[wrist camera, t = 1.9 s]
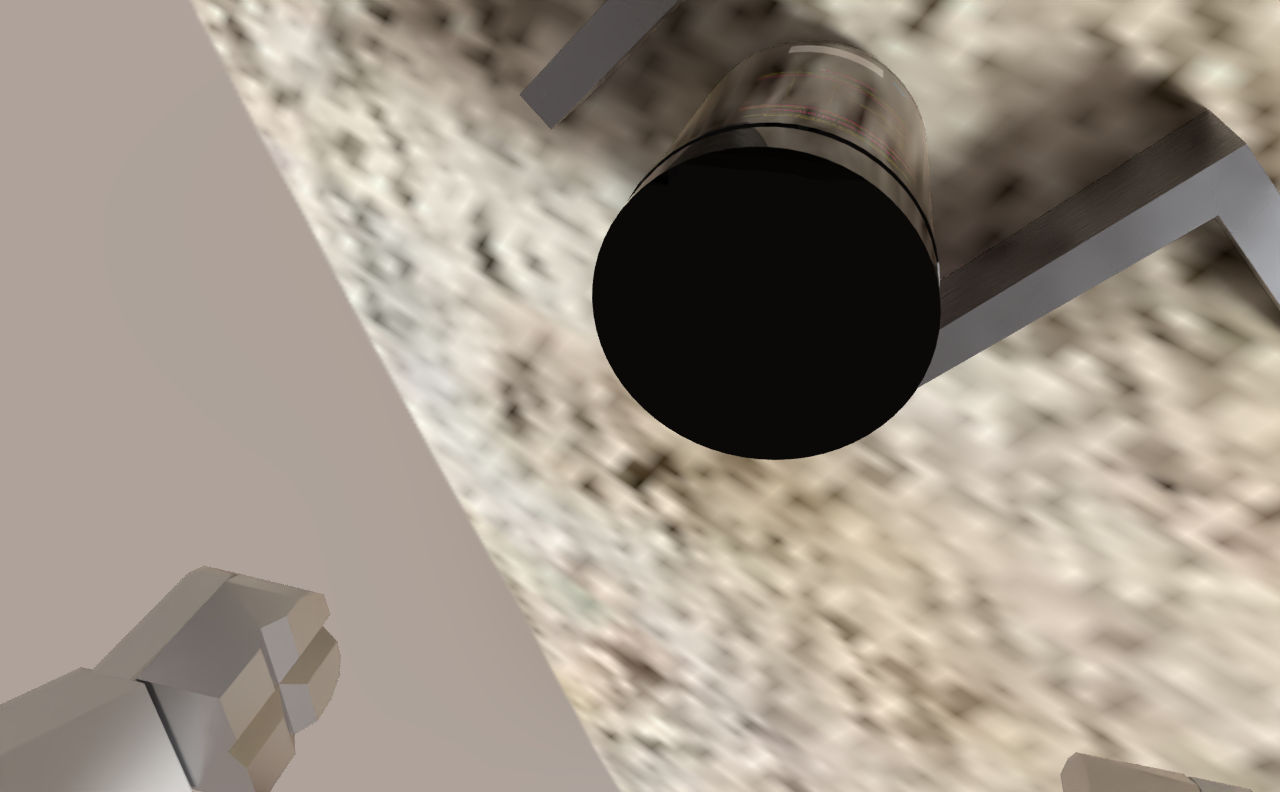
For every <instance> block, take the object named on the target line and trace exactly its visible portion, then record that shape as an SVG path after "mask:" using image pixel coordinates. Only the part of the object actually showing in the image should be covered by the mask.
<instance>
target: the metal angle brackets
mask: <svg viewBox="0 0 1280 792" xmlns="http://www.w3.org/2000/svg"><path fill="white" fill-rule="evenodd" d="M683 1H684V0H607V1H606V2H605V3H604V4H603V5H602V6H601V8H600V9H599V10H598V11H597V12H596V13H595V14H594V15H593V16H592V17H591V18H590V19H589V21H588V22H587V23H586V24H585V25H584V26H583V27H582V28H581V29H580V30H579V31H578V32H577V33H576V35H575V36H574V37H573V38H572V39H571V40H570V41H569V42H568V43H567V44H566V45H565V46H564V48H563V49H562V50H561V51H560V52H559V53H558V54H557V55H556V56H555V57H554V58H553V59H552V61H551V62H550V63H549V64H548V65H547V66H546V67H545V68H544V69H543V70H542V71H541V72H540V73H539V75H538V76H537V77H536V78H535V79H534V80H533V81H532V82H531V83H530V84H529V85H528V86H527V88H526V89H525V90H524V91H523V92H522V93H521V94H520V96H521V97H522V98H523V99H524V100H525V101H526V102H527V103H528V104H529V105H530V106H531V108H532V109H533V110H534V111H535V112H536V113H537V114H538V115H539V116H540V117H541V119H542V120H543V121H544V122H545V123H546V124H547V125H548V126H549V127H550V128H551V129H552V128H553V127H555V126H556V125H557V124H558V123H559V122H561V121H562V120H563V119H564V118H565V117H566V116H568V115H569V114H570V113H571V112H572V111H574V110H575V109H576V108H577V107H578V106H580V105H581V104H582V103H583V102H584V101H585V100H586V99H587V98H588V97H589V96H590V95H591V94H592V93H593V92H594V91H595V90H596V89H597V88H598V87H599V86H600V85H601V84H602V83H603V82H604V81H605V80H606V79H607V78H608V77H609V76H610V75H611V74H612V73H613V72H614V71H615V70H616V69H617V68H618V67H619V66H620V65H621V64H622V63H623V62H624V61H625V60H626V59H627V58H628V57H629V56H630V55H631V54H632V53H633V52H634V51H635V50H636V49H637V48H638V47H639V46H640V45H641V44H642V43H643V42H644V41H645V40H646V39H647V38H648V37H649V36H650V35H651V34H652V33H653V32H654V31H655V30H656V29H657V28H658V27H659V25H660V24H661V23H662V22H663V21H664V20H665V19H666V18H667V17H668V16H669V15H670V14H671V13H672V12H673V11H674V10H675V9H676V8H677V7H678V6H679V5H680V4H681V3H682V2H683ZM1214 217H1215V219H1216V220H1217V222H1218V223H1219V225H1220V226H1221V227H1222V229H1223V230H1224V232H1225V233H1226V235H1227V236H1228V238H1229V239H1230V241H1231V242H1232V243H1233V245H1234V246H1235V248H1236V249H1237V251H1238V252H1239V254H1240V255H1241V256H1242V258H1243V259H1244V261H1245V262H1246V264H1247V265H1248V267H1249V268H1250V269H1251V271H1252V272H1253V274H1254V275H1255V277H1256V278H1257V280H1258V281H1259V282H1260V284H1261V285H1262V287H1263V288H1264V290H1265V291H1266V293H1267V294H1268V296H1269V297H1270V298H1271V300H1272V301H1273V303H1274V304H1275V306H1276V307H1277V309H1278V310H1279V311H1280V194H1279V192H1278V191H1277V189H1276V188H1275V186H1274V185H1273V183H1272V182H1271V180H1270V179H1269V177H1268V176H1267V174H1266V173H1265V171H1264V170H1263V168H1262V167H1261V165H1260V164H1259V162H1258V161H1257V159H1256V158H1255V156H1254V155H1253V153H1252V151H1251V150H1250V148H1249V147H1248V145H1247V144H1246V143H1245V142H1244V141H1243V140H1242V139H1241V138H1239V137H1238V136H1237V135H1236V134H1235V133H1234V132H1233V131H1232V130H1231V129H1230V128H1228V127H1227V126H1226V125H1225V124H1224V123H1223V122H1222V121H1221V120H1220V119H1219V118H1217V117H1216V116H1215V115H1214V114H1213V113H1212V112H1211V111H1210V110H1207V111H1206V112H1204V113H1203V114H1201V115H1199V116H1198V117H1196V118H1195V119H1193V120H1192V121H1190V122H1188V123H1187V124H1185V125H1184V126H1182V127H1181V128H1179V129H1178V130H1176V131H1174V132H1173V133H1171V134H1170V135H1168V136H1167V137H1165V138H1163V139H1162V140H1160V141H1159V142H1157V143H1156V144H1154V145H1152V146H1151V147H1149V148H1148V149H1146V150H1145V151H1143V152H1142V153H1140V154H1138V155H1137V156H1135V157H1134V158H1132V159H1131V160H1129V161H1127V162H1126V163H1124V164H1123V165H1121V166H1120V167H1118V168H1116V169H1115V170H1113V171H1112V172H1110V173H1109V174H1107V175H1106V176H1104V177H1102V178H1101V179H1099V180H1098V181H1096V182H1095V183H1093V184H1091V185H1090V186H1088V187H1087V188H1085V189H1084V190H1082V191H1080V192H1079V193H1077V194H1076V195H1074V196H1073V197H1071V198H1069V199H1068V200H1066V201H1065V202H1063V203H1062V204H1060V205H1059V206H1057V207H1055V208H1054V209H1052V210H1051V211H1049V212H1048V213H1046V214H1044V215H1043V216H1041V217H1040V218H1038V219H1037V220H1035V221H1033V222H1032V223H1030V224H1029V225H1027V226H1026V227H1024V228H1023V229H1021V230H1019V231H1018V232H1016V233H1015V234H1013V235H1012V236H1010V237H1008V238H1007V239H1005V240H1004V241H1002V242H1001V243H999V244H997V245H996V246H994V247H993V248H991V249H990V250H988V251H987V252H985V253H983V254H982V255H980V256H979V257H977V258H976V259H974V260H972V261H971V262H969V263H968V264H966V265H965V266H963V267H961V268H960V269H958V270H957V271H955V272H954V273H952V274H951V275H949V276H947V277H946V278H944V279H943V280H941V281H940V287H939V288H940V306H941V318H940V330H939V336H938V340H937V345H936V349H935V352H934V355H933V358H932V361H931V364H930V366H929V368H928V370H927V372H926V374H925V376H924V378H923V380H922V381H921V383H920V385H919V386H918V387H920V386H922V385H923V384H925V383H927V382H929V381H930V380H932V379H934V378H936V377H937V376H939V375H941V374H943V373H944V372H946V371H948V370H950V369H951V368H953V367H955V366H957V365H958V364H960V363H962V362H964V361H965V360H967V359H969V358H971V357H972V356H974V355H976V354H977V353H979V352H981V351H983V350H984V349H986V348H988V347H990V346H991V345H993V344H995V343H997V342H998V341H1000V340H1002V339H1004V338H1005V337H1007V336H1009V335H1011V334H1012V333H1014V332H1016V331H1018V330H1019V329H1021V328H1023V327H1025V326H1026V325H1028V324H1030V323H1032V322H1033V321H1035V320H1037V319H1038V318H1040V317H1042V316H1044V315H1045V314H1047V313H1049V312H1051V311H1052V310H1054V309H1056V308H1058V307H1059V306H1061V305H1063V304H1065V303H1066V302H1068V301H1070V300H1072V299H1073V298H1075V297H1077V296H1079V295H1080V294H1082V293H1084V292H1086V291H1087V290H1089V289H1091V288H1092V287H1094V286H1096V285H1098V284H1099V283H1101V282H1103V281H1105V280H1106V279H1108V278H1110V277H1112V276H1113V275H1115V274H1117V273H1119V272H1120V271H1122V270H1124V269H1126V268H1127V267H1129V266H1131V265H1133V264H1134V263H1136V262H1138V261H1140V260H1141V259H1143V258H1145V257H1146V256H1148V255H1150V254H1152V253H1153V252H1155V251H1157V250H1159V249H1160V248H1162V247H1164V246H1166V245H1167V244H1169V243H1171V242H1173V241H1174V240H1176V239H1178V238H1180V237H1181V236H1183V235H1185V234H1187V233H1188V232H1190V231H1192V230H1194V229H1195V228H1197V227H1199V226H1200V225H1202V224H1204V223H1206V222H1207V221H1209V220H1211V219H1213V218H1214Z"/></svg>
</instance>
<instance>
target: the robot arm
mask: <svg viewBox="0 0 1280 792" xmlns="http://www.w3.org/2000/svg"><path fill="white" fill-rule="evenodd" d="M329 616H330V612H329V609H328V606H327V603H326V599H325V596H324V595H323V594H320V593H316V592H312V591H308V590H304V589H300V588H296V587H292V586H288V585H284V584H280V583H275V582H271V581H267V580H263V579H259V578H255V577H251V576H247V575H242V574H238V573H234V572H229V571H224V570H220V569H216V568H211V567H207V566H203V567H200V568H198V569H196V570H194V571H192V572H189V573H188V574H187V575H186V576H185V577H184V578H183V579H182V580H181V581H180V582H179V583H178V584H177V585H176V586H175V587H174V588H173V589H172V590H171V591H170V592H169V593H168V594H167V595H166V596H165V597H164V598H163V599H162V600H161V601H160V602H159V603H158V604H157V605H156V606H155V607H154V608H153V609H152V610H151V611H150V612H149V613H148V614H147V615H146V616H145V617H144V618H143V619H142V620H141V621H140V622H139V623H138V624H137V625H136V626H135V627H134V628H133V629H132V630H131V631H130V632H129V633H128V634H127V635H126V636H125V637H124V638H123V639H122V640H121V641H120V642H119V643H118V644H117V645H116V647H115V648H114V649H113V650H112V651H111V652H110V653H109V654H108V655H107V656H106V657H105V658H104V659H103V660H102V661H101V662H100V663H99V664H98V665H97V666H96V667H95V668H94V669H93V670H91V669H86V668H79V669H77V670H74V671H72V672H70V673H68V674H66V675H64V676H61V677H59V678H57V679H55V680H53V681H51V682H48V683H46V684H44V685H42V686H40V687H38V688H36V689H33V690H31V691H29V692H27V693H25V694H22V695H20V696H18V697H16V698H14V699H12V700H10V701H7V702H5V703H3V704H1V705H0V792H193V791H192V789H194V790H199V791H202V792H270V791H271V789H272V788H273V786H274V785H275V783H276V782H277V780H278V779H279V778H280V776H281V775H282V773H283V772H284V770H285V769H286V767H287V765H288V764H289V763H290V761H291V760H292V758H293V757H294V755H295V734H296V733H298V732H299V731H301V730H303V729H305V728H306V727H308V726H310V725H311V724H313V723H315V722H317V721H318V719H319V718H320V716H321V715H322V713H323V712H324V710H325V708H326V707H327V705H328V703H329V702H330V701H331V699H332V696H333V693H334V690H335V687H336V684H337V681H338V679H339V675H340V661H341V656H340V651H339V647H338V643H337V641H336V640H335V639H334V638H333V636H332V635H331V634H330V633H329V632H328V631H327V630H326V629H325V628H324V627H323V624H324V623H325V621H326V620H327V619H328V617H329ZM1061 781H1062V787H1063V792H1252V790H1250V789H1246V788H1242V787H1237V786H1233V785H1228V784H1223V783H1218V782H1214V781H1209V780H1204V779H1199V778H1195V777H1187V776H1185V775H1184V774H1181V773H1176V772H1171V771H1166V770H1161V769H1156V768H1151V767H1146V766H1141V765H1136V764H1131V763H1126V762H1121V761H1116V760H1111V759H1106V758H1101V757H1096V756H1091V755H1086V754H1081V753H1075V754H1073V755H1072V756H1071V757H1069V758H1068V760H1067V762H1066V764H1065V766H1064V768H1063V770H1062V772H1061Z"/></svg>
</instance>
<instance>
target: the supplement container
mask: <svg viewBox="0 0 1280 792" xmlns="http://www.w3.org/2000/svg"><path fill="white" fill-rule="evenodd" d="M939 287H940V268H939V258H938V251H937V245H936V241H935V238H934V232H933V219H932V205H931V192H930V179H929V165H928V152H927V140H926V134H925V128H924V125H923V121H922V117H921V115H920V112H919V110H918V107H917V105H916V103H915V101H914V99H913V97H912V96H911V94H910V93H909V91H908V90H907V88H906V87H905V85H904V84H903V83H902V82H901V80H900V79H899V78H898V77H897V76H896V75H895V74H894V73H893V72H892V71H891V70H890V69H889V68H888V67H887V66H885V65H884V64H882V63H881V62H880V61H878V60H877V59H876V58H874V57H872V56H870V55H869V54H867V53H865V52H863V51H861V50H858V49H856V48H854V47H851V46H847V45H844V44H841V43H836V42H831V41H823V40H799V41H792V42H786V43H783V44H779V45H775V46H772V47H769V48H767V49H764V50H762V51H760V52H758V53H756V54H754V55H752V56H750V57H748V58H747V59H745V60H744V61H742V62H740V63H739V64H738V65H737V66H735V67H734V68H733V69H732V70H730V71H729V72H728V73H727V74H726V75H725V76H724V77H723V78H722V79H721V80H720V82H719V83H718V84H717V85H716V86H715V88H714V89H713V90H712V91H711V93H710V94H709V95H708V97H707V98H706V99H705V101H704V102H703V104H702V105H701V106H700V108H699V109H698V110H697V112H696V113H695V114H694V116H693V117H692V118H691V120H690V121H689V122H688V124H687V125H686V126H685V128H684V129H683V130H682V132H681V133H680V134H679V136H678V137H677V139H676V140H675V141H674V143H673V144H672V145H671V147H670V148H669V149H668V151H667V152H666V153H665V155H664V156H663V157H662V159H661V160H660V161H659V162H658V163H657V164H656V165H655V166H654V167H653V168H652V169H651V170H650V171H649V172H648V173H647V175H646V176H645V177H644V178H643V179H642V181H641V182H640V183H639V184H638V186H637V187H636V189H635V190H634V192H633V193H632V195H631V196H630V198H629V200H628V202H627V203H626V204H625V206H624V207H623V208H622V210H621V211H620V212H619V214H618V215H617V217H616V218H615V220H614V221H613V223H612V224H611V226H610V228H609V230H608V232H607V234H606V236H605V238H604V240H603V243H602V246H601V248H600V251H599V254H598V258H597V262H596V266H595V270H594V278H593V288H592V303H593V314H594V320H595V325H596V330H597V333H598V337H599V340H600V343H601V346H602V348H603V351H604V353H605V355H606V358H607V360H608V362H609V364H610V366H611V367H612V369H613V371H614V373H615V374H616V376H617V377H618V379H619V380H620V382H621V383H622V385H623V386H624V387H625V389H626V390H627V391H628V392H629V393H630V395H631V396H632V397H633V398H634V399H635V400H636V401H637V402H638V403H639V404H640V405H641V406H642V407H643V408H644V409H645V410H646V411H647V412H648V413H649V414H650V415H652V416H653V417H654V418H655V419H656V420H658V421H659V422H661V423H662V424H663V425H665V426H666V427H668V428H669V429H671V430H672V431H674V432H676V433H677V434H679V435H681V436H683V437H685V438H687V439H689V440H691V441H693V442H695V443H697V444H700V445H702V446H705V447H707V448H710V449H713V450H716V451H719V452H723V453H726V454H730V455H735V456H740V457H746V458H754V459H767V460H784V459H797V458H805V457H810V456H815V455H820V454H824V453H827V452H830V451H834V450H837V449H840V448H842V447H844V446H847V445H849V444H852V443H854V442H856V441H858V440H860V439H861V438H863V437H865V436H867V435H869V434H870V433H872V432H873V431H875V430H876V429H878V428H879V427H881V426H882V425H883V424H885V423H886V422H887V421H888V420H889V419H891V418H892V417H893V416H894V415H895V414H896V413H897V412H898V411H899V410H900V409H901V408H902V407H903V406H904V405H905V404H906V403H907V401H908V400H909V399H910V398H911V396H912V395H913V394H914V393H915V391H916V390H917V388H918V386H919V385H920V383H921V381H922V380H923V378H924V376H925V374H926V372H927V370H928V368H929V366H930V364H931V361H932V358H933V355H934V352H935V349H936V345H937V340H938V336H939V330H940V318H941V306H940V288H939Z"/></svg>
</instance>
